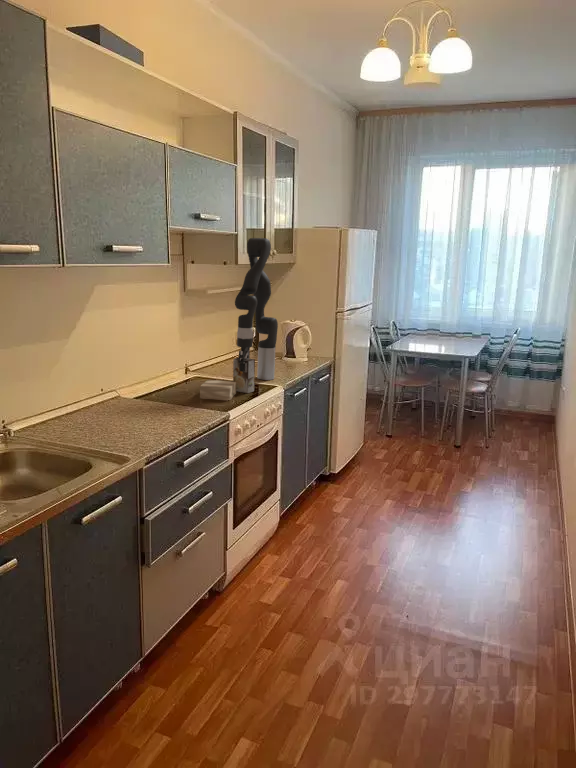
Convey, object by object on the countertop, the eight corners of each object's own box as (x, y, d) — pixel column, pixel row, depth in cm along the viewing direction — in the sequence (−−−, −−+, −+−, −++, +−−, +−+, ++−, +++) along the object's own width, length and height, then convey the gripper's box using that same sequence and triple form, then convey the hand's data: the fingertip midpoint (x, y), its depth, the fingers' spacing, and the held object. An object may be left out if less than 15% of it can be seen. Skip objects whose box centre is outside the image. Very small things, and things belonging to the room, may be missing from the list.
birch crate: (207, 391, 276) (208, 379, 275) (236, 393, 275) (236, 381, 273) (199, 398, 263) (200, 386, 261) (229, 401, 261) (229, 388, 260)
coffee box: (254, 390, 280) (255, 359, 276) (248, 393, 275) (249, 361, 271) (239, 388, 284) (240, 356, 281) (232, 390, 279) (232, 358, 275)
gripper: (240, 334, 281) (239, 366, 284) (234, 338, 267) (233, 371, 270) (255, 335, 280) (254, 367, 283) (249, 339, 266) (248, 373, 270)
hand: (243, 369), depth 277 cm, fingers open, 8 cm apart
